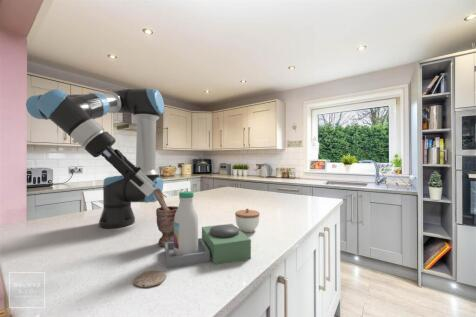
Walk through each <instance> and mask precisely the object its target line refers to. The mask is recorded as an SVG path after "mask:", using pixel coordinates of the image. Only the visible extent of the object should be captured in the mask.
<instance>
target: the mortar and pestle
mask: <svg viewBox="0 0 476 317" xmlns="http://www.w3.org/2000/svg"><path fill="white" fill-rule="evenodd" d="M154 195H155V197H156V199H157V202H158V204H159V206H160V207H158V208H156V209H155V213H156V225H157V226H156V227H157V229H158V231H159V232H160V233H161V235H162V236H161V237H160V238H159V240H158V246H160V247H164V248H165V243H168V242H174V218H175V213H176V211H177V209H178V206H175V205H174V206H173V205H172V206H171V205H169V206H168V205H167V203H166V201H165V198H164V195H163V191H162V192H161V190H160V189H155V190H154Z"/></svg>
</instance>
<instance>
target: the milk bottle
mask: <svg viewBox="0 0 476 317" xmlns="http://www.w3.org/2000/svg"><path fill="white" fill-rule="evenodd" d="M194 195H195V194H194V192H193V191H190V190H187V191H180V192H179V193H178V199H179V204H178V206H177V207H178V209H177V211H176V213H175V218H174V255H175V256H179V255H186V254H193V253H197V252H198V239H199V216H198V211H197V209H196V207H195V204H194Z"/></svg>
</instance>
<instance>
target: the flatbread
mask: <svg viewBox="0 0 476 317" xmlns="http://www.w3.org/2000/svg"><path fill="white" fill-rule="evenodd" d="M166 278H167V274H166V273H165V272H164V271H162V270H147V271H143V272H142V273H140V274H139V275H137V276H135V278H134V280H133V284H134V286H136V287H140V288H150V287H155V286H156V287H157V286H159V285H161V284H162V283H163V282H164V281H165V279H166Z"/></svg>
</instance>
